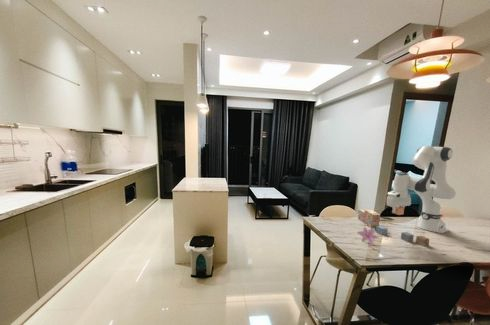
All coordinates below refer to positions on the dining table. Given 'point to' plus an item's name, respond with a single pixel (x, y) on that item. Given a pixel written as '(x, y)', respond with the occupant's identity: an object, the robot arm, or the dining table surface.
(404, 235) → the charcoal cube
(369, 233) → the lily
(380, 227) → the slate blue cube
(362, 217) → the stack of blocks
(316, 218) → the dining table surface
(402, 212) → the terracotta cube
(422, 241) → the walnut cube
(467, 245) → the dining table surface
